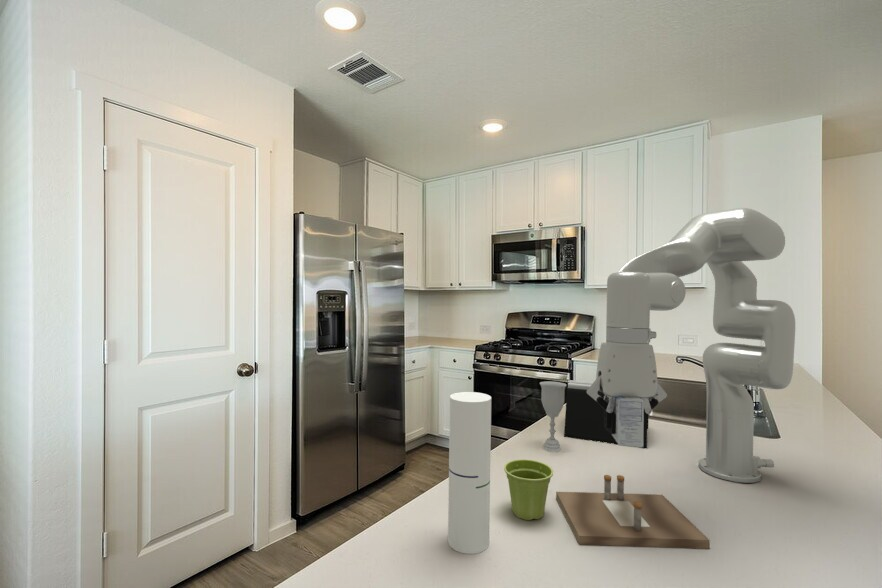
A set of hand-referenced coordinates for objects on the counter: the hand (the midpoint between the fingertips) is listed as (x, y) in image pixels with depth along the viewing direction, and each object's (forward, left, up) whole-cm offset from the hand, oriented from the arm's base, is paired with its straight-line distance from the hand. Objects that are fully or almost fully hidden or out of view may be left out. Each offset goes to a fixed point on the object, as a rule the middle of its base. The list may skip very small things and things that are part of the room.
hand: (625, 431), depth 79 cm
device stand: (-16, -53, -18) cm, 58 cm away
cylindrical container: (+30, +8, -17) cm, 35 cm away
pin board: (0, 0, -17) cm, 17 cm away
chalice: (+5, -37, -17) cm, 41 cm away
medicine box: (0, 0, -2) cm, 2 cm away
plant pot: (+18, -2, -17) cm, 25 cm away
